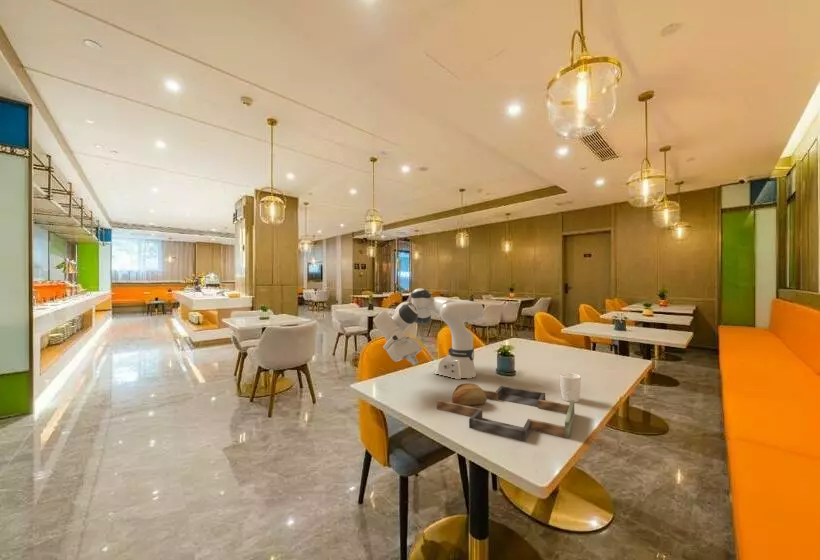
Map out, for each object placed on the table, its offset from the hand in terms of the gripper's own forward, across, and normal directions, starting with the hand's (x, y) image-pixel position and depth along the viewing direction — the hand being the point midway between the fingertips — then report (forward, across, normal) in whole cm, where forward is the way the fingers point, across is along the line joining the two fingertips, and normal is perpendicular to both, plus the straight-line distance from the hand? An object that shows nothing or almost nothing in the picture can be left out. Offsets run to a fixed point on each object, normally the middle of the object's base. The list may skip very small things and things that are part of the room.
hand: (416, 363), depth 141 cm
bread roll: (+27, 0, +8) cm, 28 cm away
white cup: (+51, -27, +32) cm, 66 cm away
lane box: (+36, -1, +18) cm, 41 cm away
